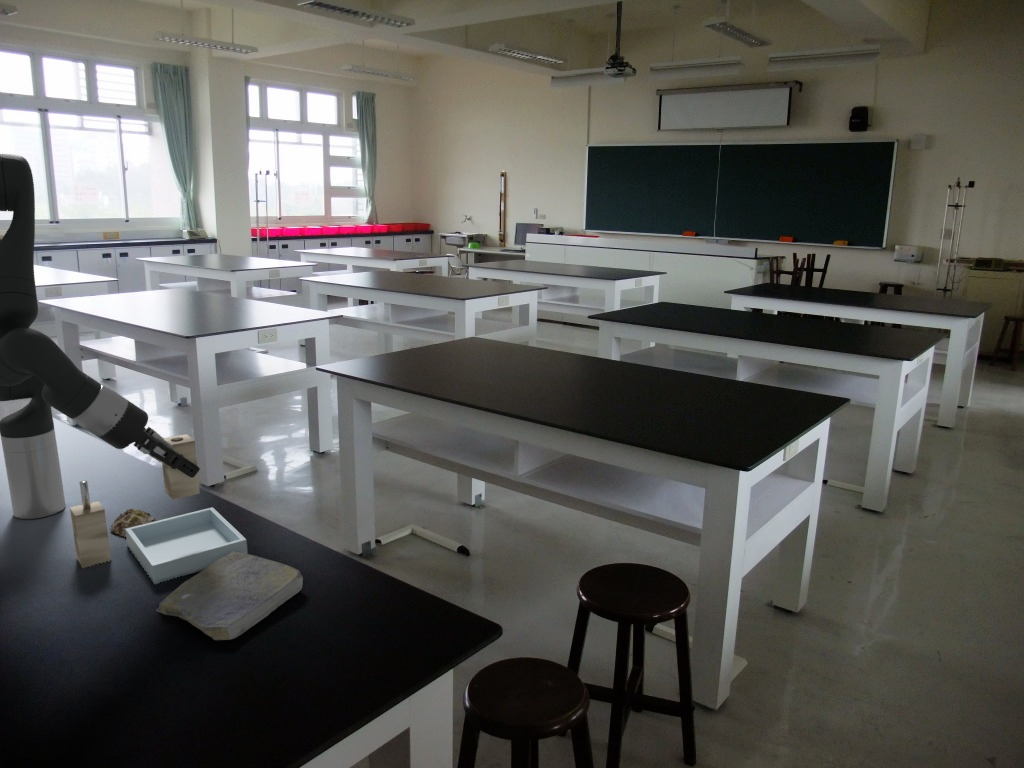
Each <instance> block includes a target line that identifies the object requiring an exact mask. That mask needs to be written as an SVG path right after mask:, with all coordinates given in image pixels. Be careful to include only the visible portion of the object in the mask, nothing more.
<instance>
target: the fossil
mask: <svg viewBox="0 0 1024 768" xmlns="http://www.w3.org/2000/svg"><path fill="white" fill-rule="evenodd" d="M247 553H248V552H247ZM247 553H242V552H237V551H233V552H231V553H230V554H228V555H227V556H224V557H222V558H220V559H218V560H216V561H215V562H213V563H212V564H211V565H209V566H208V567H207V568H206V569H204V570H202V571H199V572H197V574H195V575H193V576H192V577H189V578H188V579H187V580H184V582H182V583H181V584H179V586H178V587H177V588H175V589H174V590H173V591H172V592H171V593H170V594H169V595H167V596H166V597H165V598H164V599H163V600H161V602H159V607H157V608H156V609H155V612H158V613H160V614H163V615H165V616H173V617H179V618H180V619H182V620H184V621H187V622H188V623H190V624H191V625H192V626H194V627H195V628H196V629H199V630H200V631H202V632H203V634H205V635H206V636H208V637H210V638H212V639H213V640H214V641H225V640H226V641H231V640H233V639H236V638H238V637H239V636H241V635H242V634H244V633H245V632H247V631H248V630H249V629H251V628H252V627H253V626H255V625H256V624H258V623H260V621H262V620H263V619H265V618H266V617H268V616H269V615H270V614H271V613H273V612H274V611H275V610H277V609H278V607H280V606H281V605H283V604H284V603H286V602H287V601H288V600H290V599H291V598H292V597H294V596H295V595H297V594H298V593H300V591H302V589H303V583H304V582H303V581H304V576H303V575H302V574H301V571H300V570H299V569H298V568H295V567H293V566H290V565H287V564H285V563H281V562H278V561H275V560H271V559H269V558H264V557H261V556H258V555H253V554H250V553H248V554H247Z"/></svg>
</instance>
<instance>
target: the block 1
mask: <svg viewBox="0 0 1024 768" xmlns="http://www.w3.org/2000/svg"><path fill="white" fill-rule="evenodd" d="M79 488H80V496H81V503H82V504H78V505H74V506H70V507H69V511H70V517H71V518H70V519H71V524H72V525H71V526H72V533H73V538H74V539H73V540H74V545H75V554H76V559H77V561H78V563H79V564H80V566H81V569H85V567H86V568H88V567H87V566H89V567H92V566H91V565H93V566H95V565H94V564H97V563H101V562H104V563H107V562H106V561H108V562H110V561H109V560H111V561H112V558H111V556H112V555H111V548H110V541H109V532H108V525H107V517H106V509H105V508H104V506H103V505H102V504H101V502H100V501H99V500H97V501H93V502H91V500H90V498H91V497H90V492H89V485H88V480H82V481H79ZM101 564H102V563H101ZM97 565H98V564H97Z"/></svg>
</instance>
